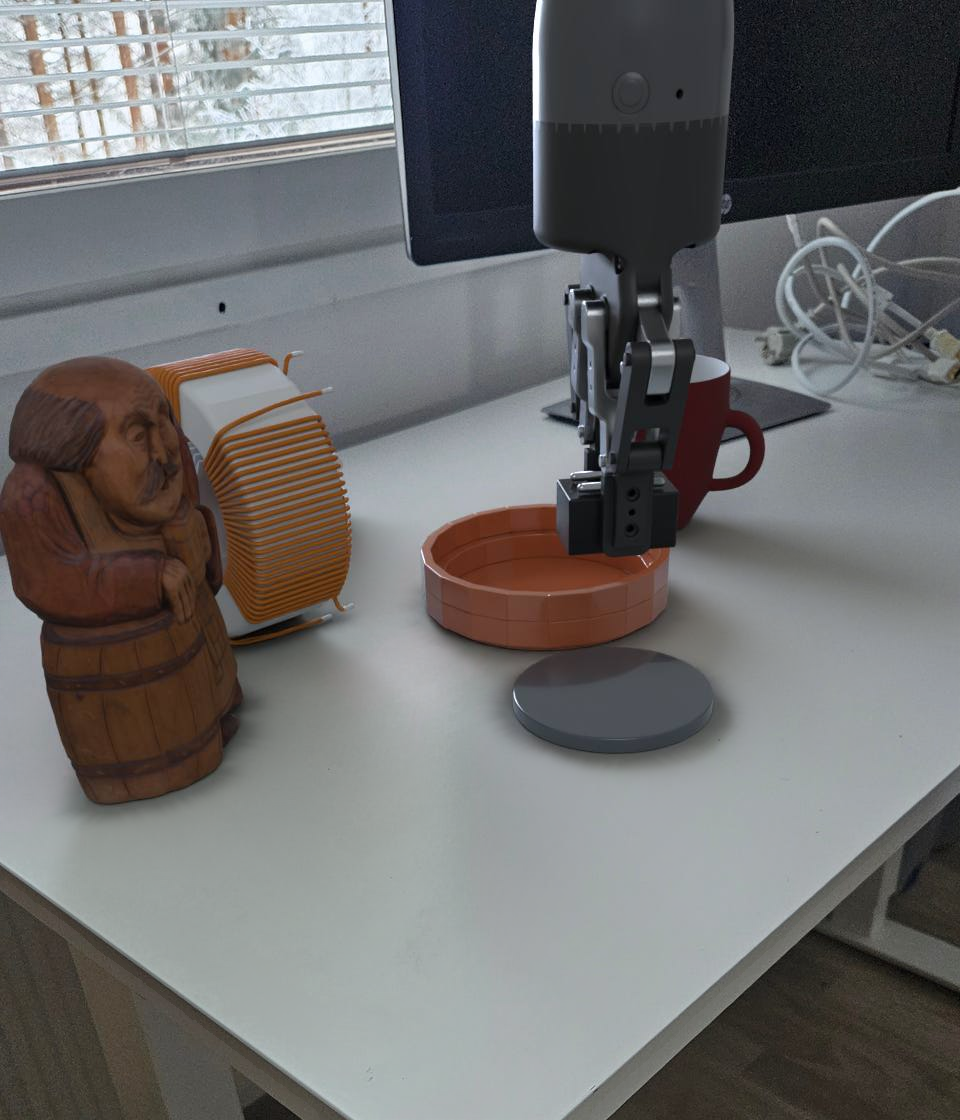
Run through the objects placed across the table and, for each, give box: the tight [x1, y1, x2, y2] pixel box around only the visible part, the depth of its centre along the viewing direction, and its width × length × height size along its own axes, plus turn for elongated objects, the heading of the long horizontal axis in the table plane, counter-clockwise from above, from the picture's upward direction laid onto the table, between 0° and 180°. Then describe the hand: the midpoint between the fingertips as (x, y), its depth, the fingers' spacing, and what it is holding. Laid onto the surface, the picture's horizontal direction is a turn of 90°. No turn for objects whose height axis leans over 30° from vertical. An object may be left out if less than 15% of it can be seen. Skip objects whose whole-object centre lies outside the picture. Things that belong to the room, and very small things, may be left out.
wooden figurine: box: [0, 355, 245, 805], centre depth 55 cm, size 12×6×18 cm, turn 173°
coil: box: [143, 347, 356, 646], centre depth 68 cm, size 7×15×15 cm, turn 40°
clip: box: [556, 470, 679, 556], centre depth 56 cm, size 5×3×3 cm, turn 98°
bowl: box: [420, 503, 672, 651], centre depth 72 cm, size 14×14×4 cm
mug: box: [634, 354, 766, 531], centre depth 80 cm, size 11×8×10 cm
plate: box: [512, 646, 714, 754], centre depth 62 cm, size 10×10×1 cm
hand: (615, 537), depth 57 cm, fingers closed on clip, 3 cm apart
